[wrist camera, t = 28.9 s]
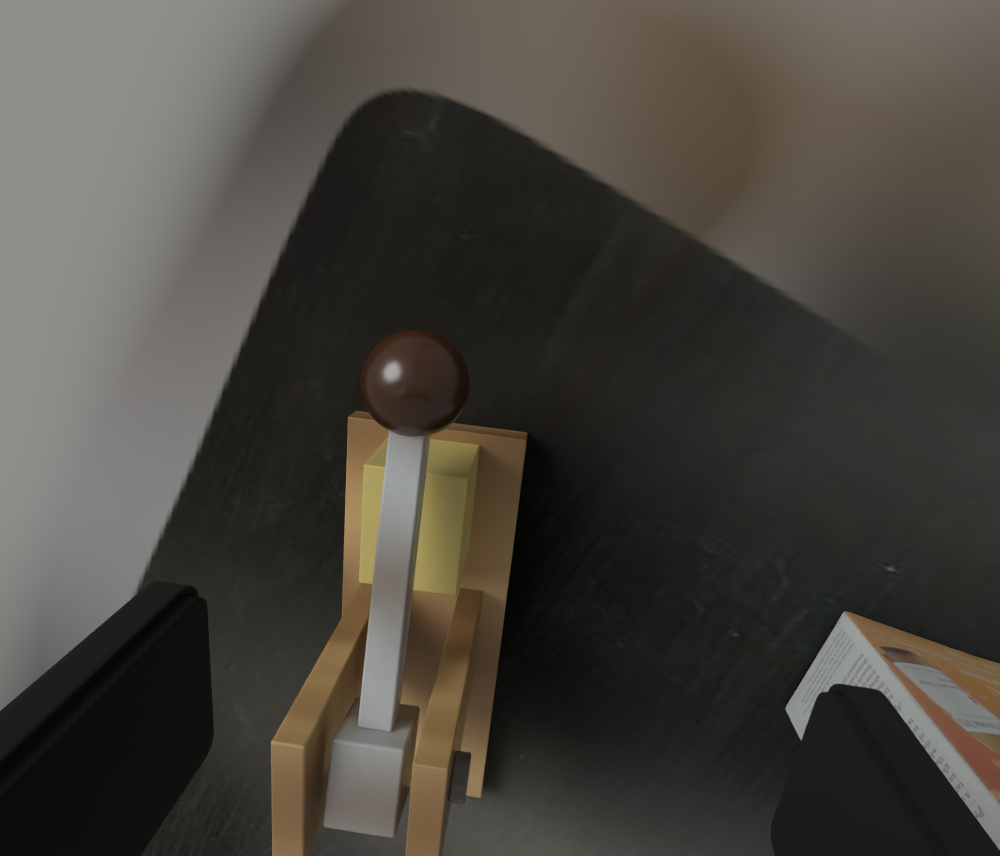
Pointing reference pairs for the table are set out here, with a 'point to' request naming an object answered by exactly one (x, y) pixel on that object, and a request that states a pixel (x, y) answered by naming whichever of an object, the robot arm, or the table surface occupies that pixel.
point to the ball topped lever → (392, 579)
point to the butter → (428, 515)
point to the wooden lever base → (410, 657)
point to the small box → (920, 702)
